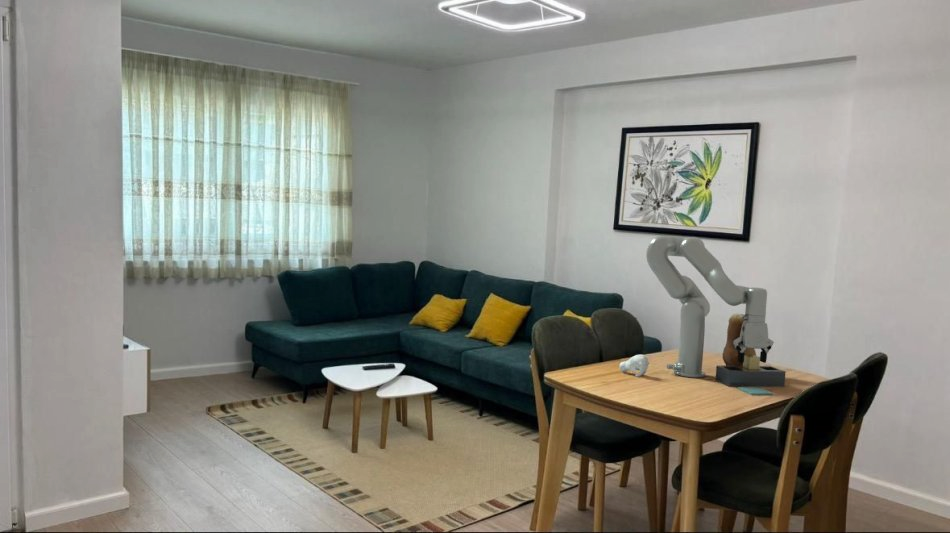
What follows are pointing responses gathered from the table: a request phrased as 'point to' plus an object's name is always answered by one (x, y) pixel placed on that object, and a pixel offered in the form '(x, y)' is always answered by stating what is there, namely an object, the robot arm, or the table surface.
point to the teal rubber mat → (755, 391)
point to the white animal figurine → (635, 365)
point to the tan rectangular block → (751, 362)
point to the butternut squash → (733, 333)
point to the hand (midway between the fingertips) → (751, 362)
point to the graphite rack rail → (750, 376)
